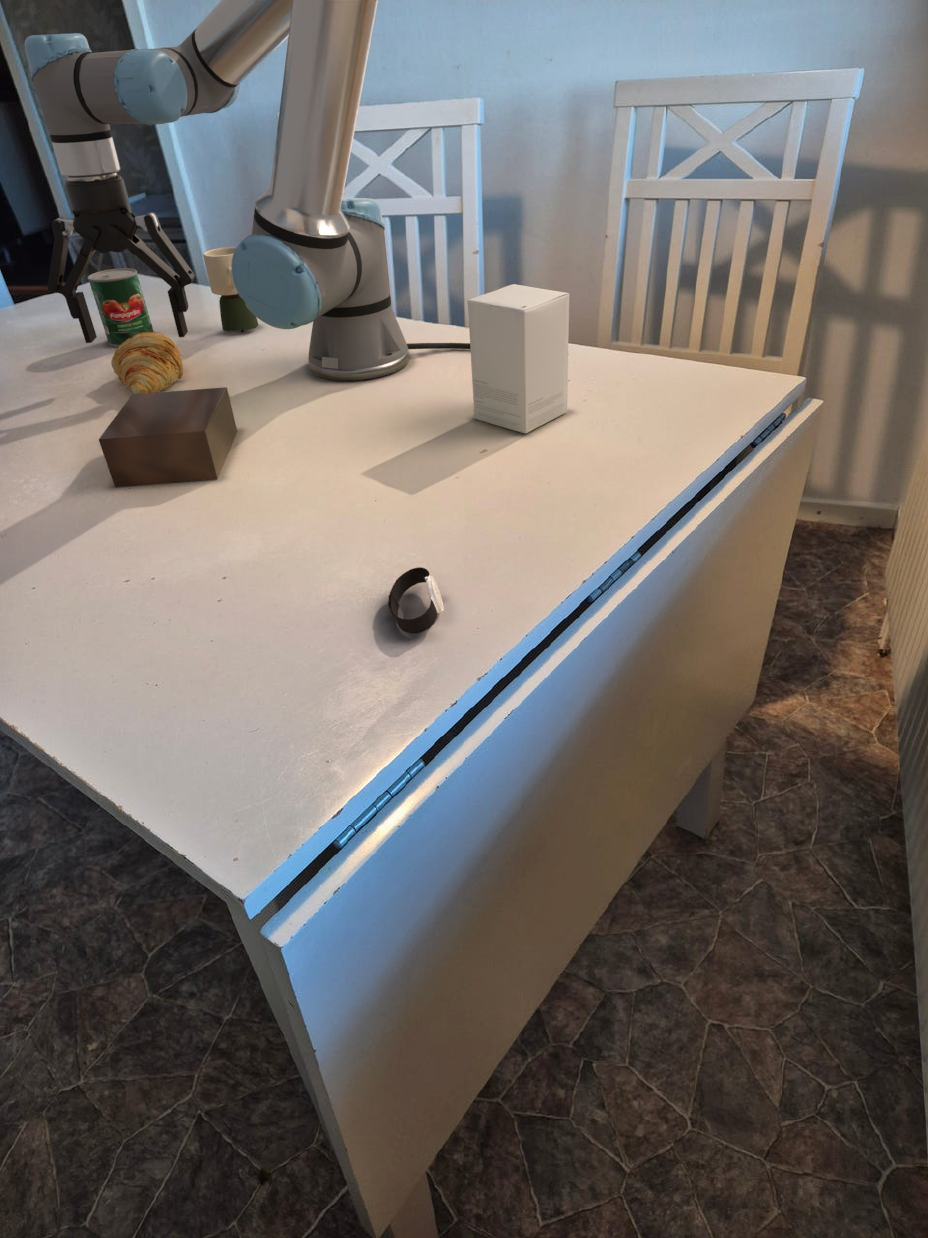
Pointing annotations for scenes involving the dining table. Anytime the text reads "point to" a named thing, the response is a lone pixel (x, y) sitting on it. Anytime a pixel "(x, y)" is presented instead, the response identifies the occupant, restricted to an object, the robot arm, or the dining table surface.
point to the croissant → (147, 363)
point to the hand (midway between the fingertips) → (137, 337)
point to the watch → (404, 584)
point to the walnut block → (170, 437)
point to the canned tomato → (120, 304)
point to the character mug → (227, 291)
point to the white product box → (519, 356)
